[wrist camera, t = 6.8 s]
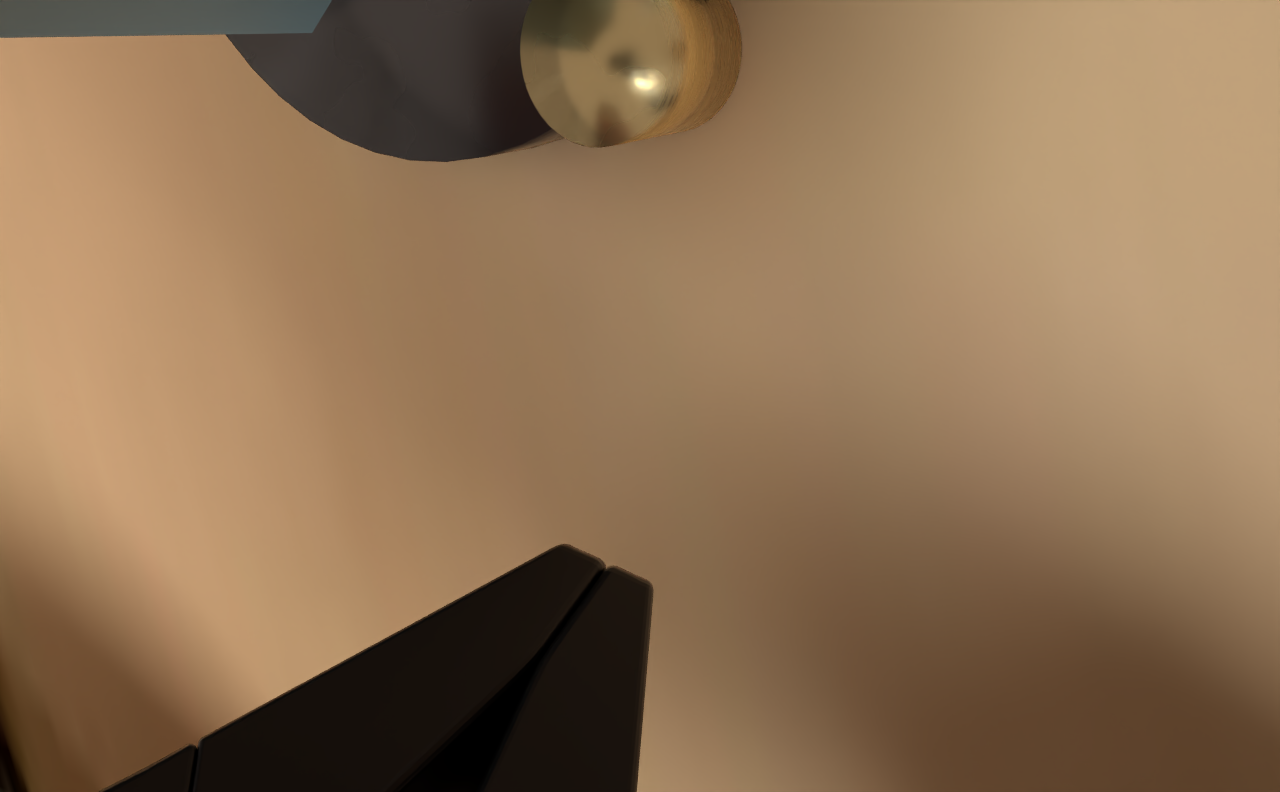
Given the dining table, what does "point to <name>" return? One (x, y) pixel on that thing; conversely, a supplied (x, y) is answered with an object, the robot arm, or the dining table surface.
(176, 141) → the dining table surface
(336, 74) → the base
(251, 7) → the grey upright slab
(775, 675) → the dining table surface
